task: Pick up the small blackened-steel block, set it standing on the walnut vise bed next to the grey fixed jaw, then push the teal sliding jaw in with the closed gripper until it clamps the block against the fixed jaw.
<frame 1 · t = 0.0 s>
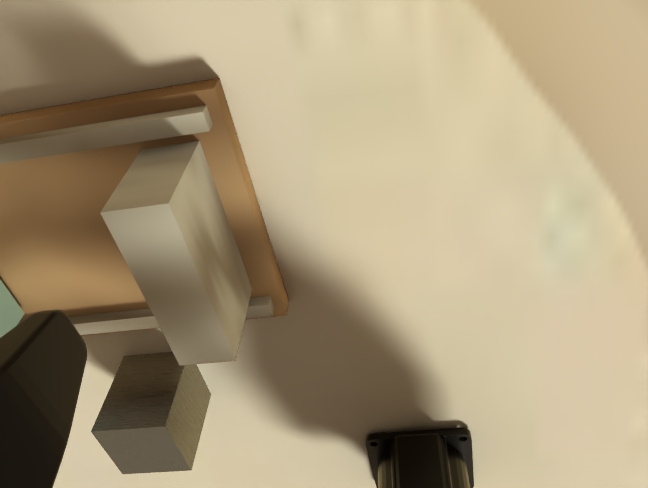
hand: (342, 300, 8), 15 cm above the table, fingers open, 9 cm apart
block: (168, 375, 33), on the table
vise base: (86, 228, 27), on the table
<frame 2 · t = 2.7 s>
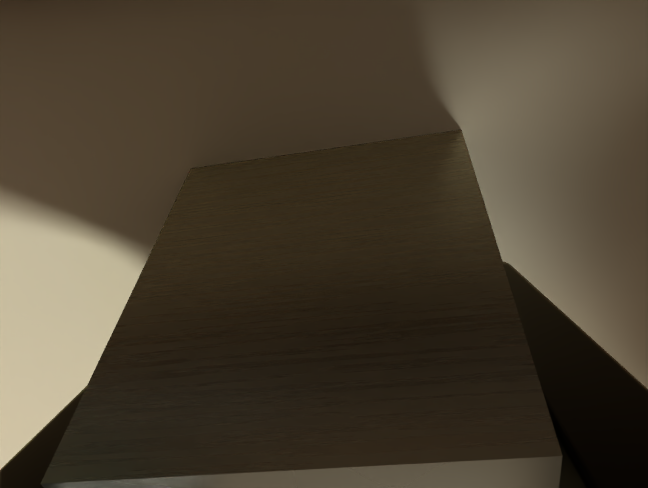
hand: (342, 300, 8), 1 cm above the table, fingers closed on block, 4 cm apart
block: (343, 256, 9), on the table, touching gripper
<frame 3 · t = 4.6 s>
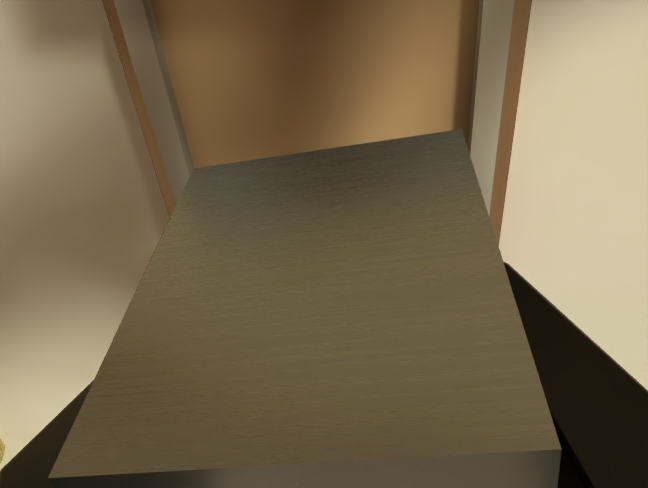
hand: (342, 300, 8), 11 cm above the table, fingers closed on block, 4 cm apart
block: (345, 254, 9), point 10 cm above the table, touching gripper
vise base: (322, 80, 18), on the table
when the fingers open (3 cm above the table, at t = 6.5 s): block stays where it is, resting on vise base.
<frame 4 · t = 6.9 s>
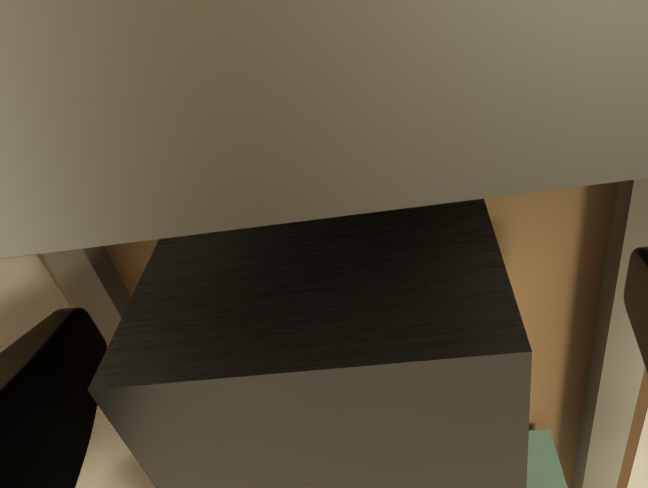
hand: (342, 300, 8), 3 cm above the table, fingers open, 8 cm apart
block: (346, 223, 10), point 1 cm above the table, touching vise base
vise base: (356, 254, 12), on the table
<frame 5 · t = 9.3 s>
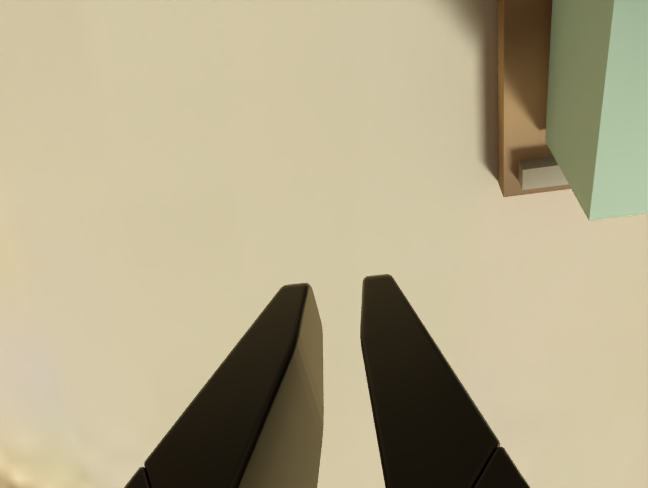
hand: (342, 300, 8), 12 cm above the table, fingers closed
sliding jaw: (627, 40, 14), point 4 cm above the table, slide at 0.0 cm
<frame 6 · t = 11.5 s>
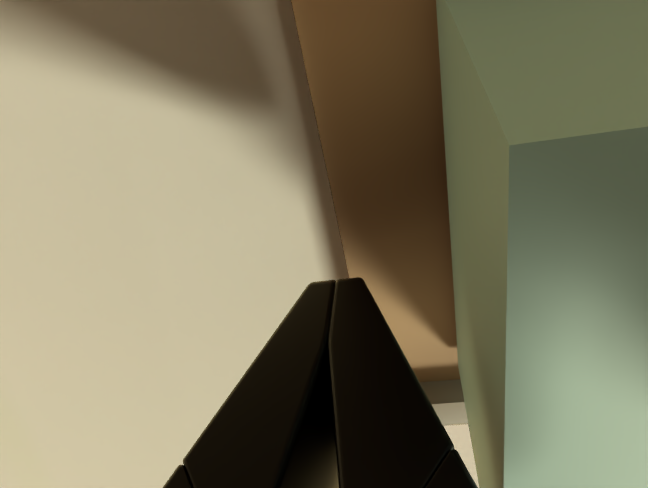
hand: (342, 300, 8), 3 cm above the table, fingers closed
sliding jaw: (566, 306, 7), point 4 cm above the table, slide at 0.7 cm, touching gripper
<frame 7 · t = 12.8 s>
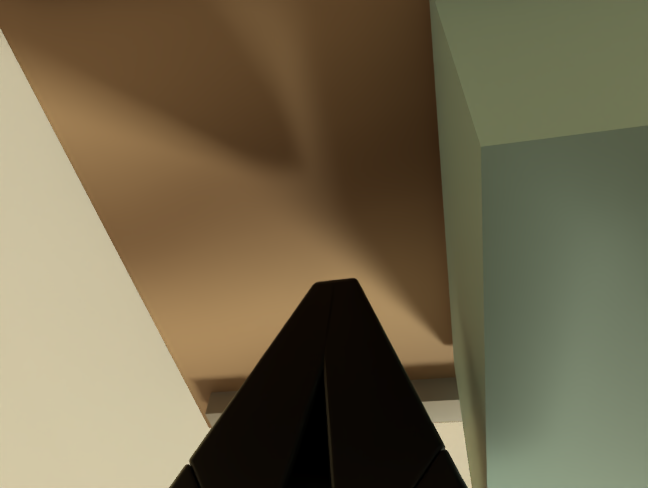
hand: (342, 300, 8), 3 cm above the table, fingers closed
sliding jaw: (555, 304, 8), point 4 cm above the table, slide at 5.0 cm, touching block, gripper
vise base: (565, 162, 10), on the table
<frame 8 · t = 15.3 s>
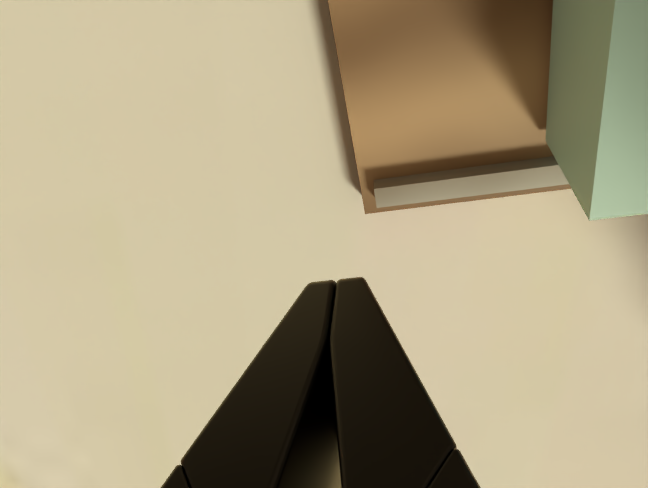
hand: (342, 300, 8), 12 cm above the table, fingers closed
sliding jaw: (627, 40, 14), point 4 cm above the table, slide at 5.0 cm, touching block
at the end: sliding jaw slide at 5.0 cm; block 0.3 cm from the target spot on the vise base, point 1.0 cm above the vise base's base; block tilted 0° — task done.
